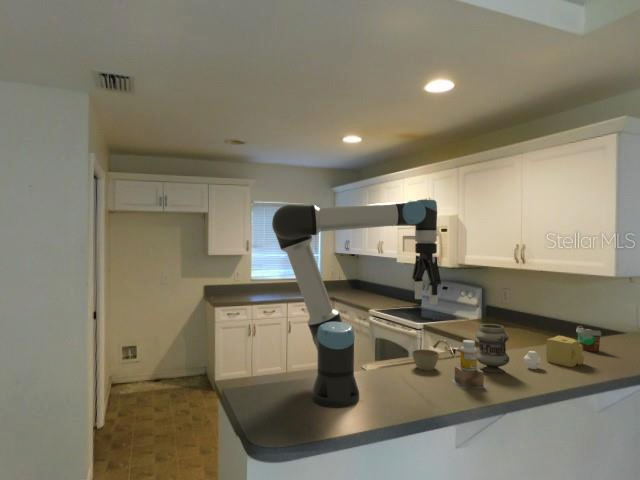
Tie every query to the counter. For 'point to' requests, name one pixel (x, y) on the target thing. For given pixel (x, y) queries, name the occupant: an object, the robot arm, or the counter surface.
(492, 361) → the apothecary jar
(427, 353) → the flower pot
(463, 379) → the walnut block
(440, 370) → the counter surface
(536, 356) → the white rounded lump
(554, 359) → the cheese
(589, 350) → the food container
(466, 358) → the supplement bottle
